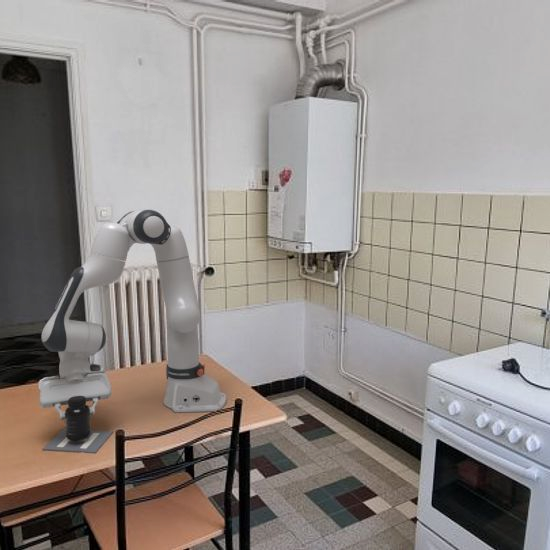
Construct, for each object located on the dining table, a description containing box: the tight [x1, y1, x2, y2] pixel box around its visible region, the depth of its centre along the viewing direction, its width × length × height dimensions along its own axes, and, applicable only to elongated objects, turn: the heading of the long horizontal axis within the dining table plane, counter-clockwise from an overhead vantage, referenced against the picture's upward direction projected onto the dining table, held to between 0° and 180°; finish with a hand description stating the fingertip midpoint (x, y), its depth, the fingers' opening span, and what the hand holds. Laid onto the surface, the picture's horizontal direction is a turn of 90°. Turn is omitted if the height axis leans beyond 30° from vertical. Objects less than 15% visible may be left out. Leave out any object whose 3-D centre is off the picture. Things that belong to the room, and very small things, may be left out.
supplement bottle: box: [64, 396, 91, 441], centre depth 141 cm, size 7×7×12 cm
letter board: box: [41, 428, 114, 454], centre depth 142 cm, size 16×12×1 cm
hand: (77, 416), depth 140 cm, fingers closed on supplement bottle, 7 cm apart
